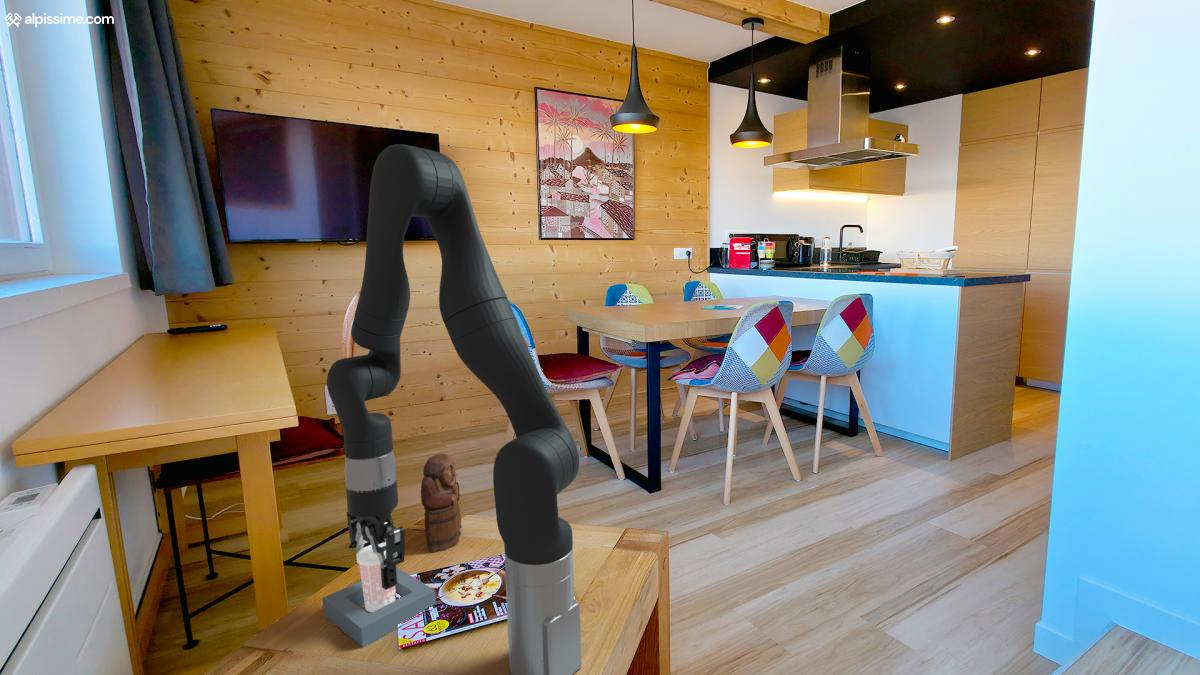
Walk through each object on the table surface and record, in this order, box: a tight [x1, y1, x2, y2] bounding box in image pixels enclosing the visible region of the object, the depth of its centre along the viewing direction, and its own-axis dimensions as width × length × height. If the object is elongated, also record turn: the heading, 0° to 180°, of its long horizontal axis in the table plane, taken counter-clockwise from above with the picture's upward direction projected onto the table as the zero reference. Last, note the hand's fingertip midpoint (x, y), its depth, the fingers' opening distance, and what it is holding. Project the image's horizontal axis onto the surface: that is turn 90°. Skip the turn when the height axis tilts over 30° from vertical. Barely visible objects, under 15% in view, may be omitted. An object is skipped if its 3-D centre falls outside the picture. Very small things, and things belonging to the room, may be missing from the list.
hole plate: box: [321, 566, 437, 648], centre depth 92 cm, size 13×13×3 cm
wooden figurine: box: [420, 453, 463, 553], centre depth 116 cm, size 12×6×18 cm, turn 3°
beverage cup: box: [356, 542, 398, 613], centre depth 91 cm, size 6×6×14 cm
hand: (378, 579), depth 92 cm, fingers closed on beverage cup, 6 cm apart
